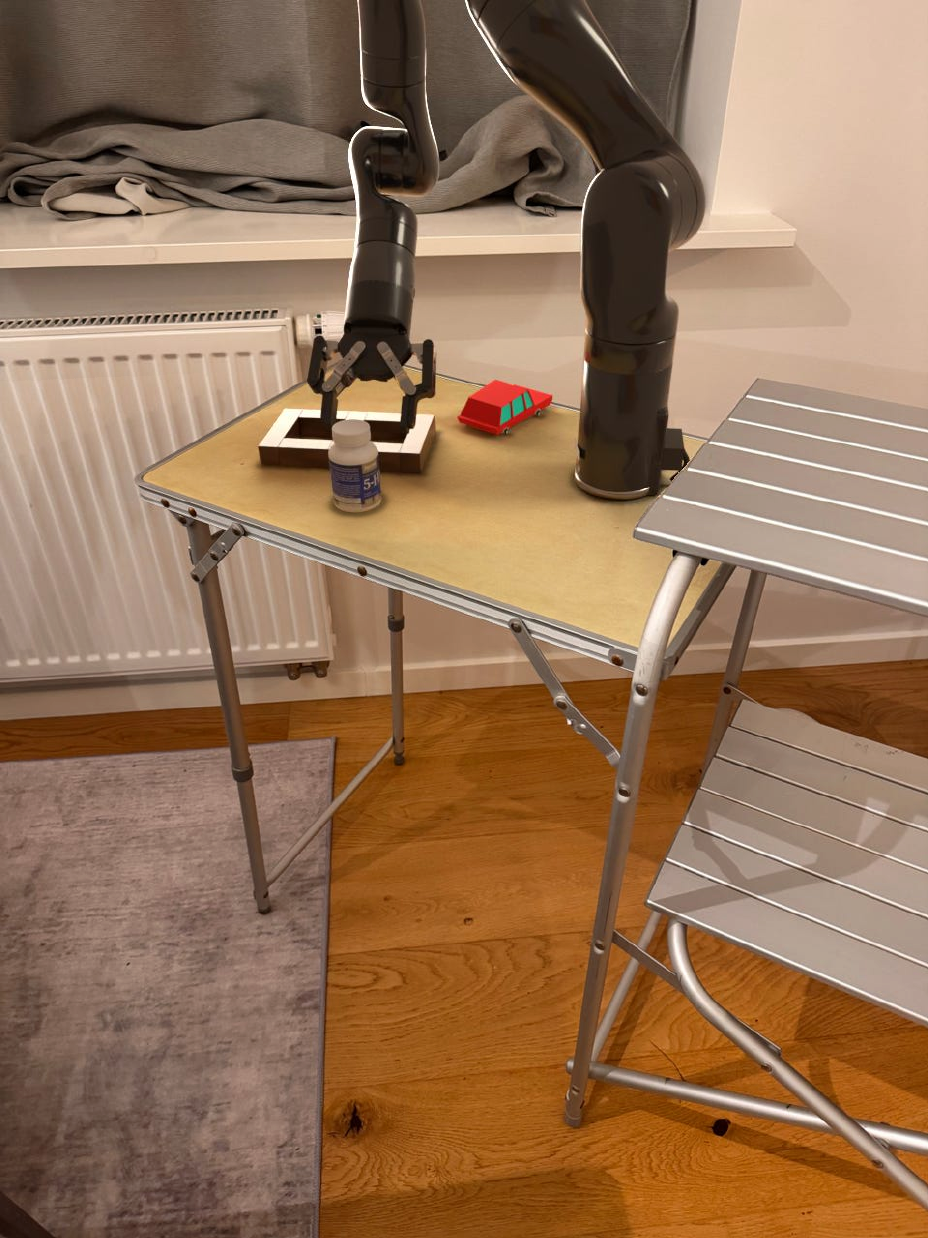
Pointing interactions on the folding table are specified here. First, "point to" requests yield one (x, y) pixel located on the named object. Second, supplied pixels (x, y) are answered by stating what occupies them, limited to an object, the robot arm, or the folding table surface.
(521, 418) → the toy car
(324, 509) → the folding table surface
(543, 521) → the folding table surface
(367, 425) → the pill bottle
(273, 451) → the peg board
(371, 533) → the folding table surface
